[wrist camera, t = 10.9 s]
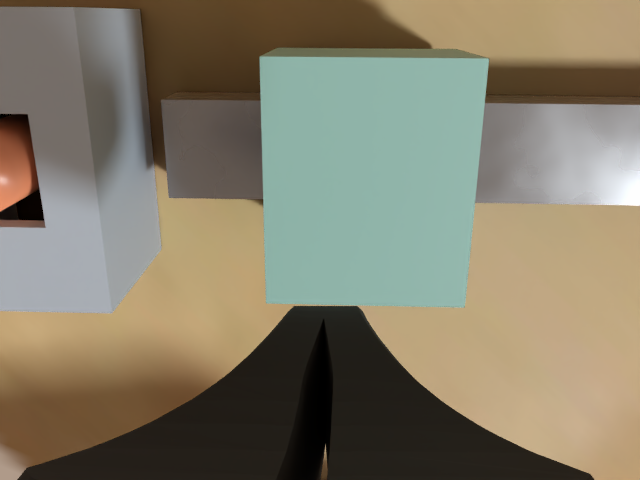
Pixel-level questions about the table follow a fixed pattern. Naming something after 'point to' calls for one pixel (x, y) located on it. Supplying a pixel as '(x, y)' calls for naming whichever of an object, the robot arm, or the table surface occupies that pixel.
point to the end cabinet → (79, 158)
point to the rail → (494, 162)
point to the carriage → (370, 174)
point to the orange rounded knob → (16, 160)
